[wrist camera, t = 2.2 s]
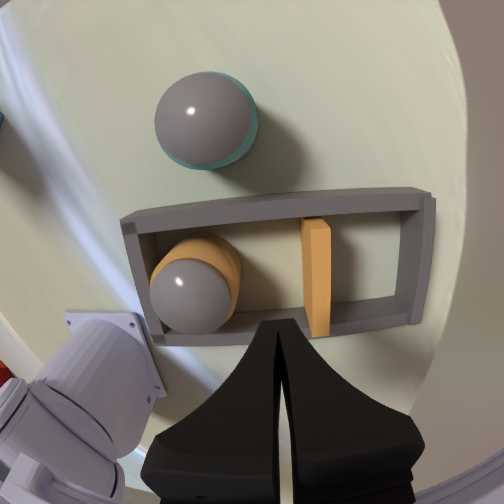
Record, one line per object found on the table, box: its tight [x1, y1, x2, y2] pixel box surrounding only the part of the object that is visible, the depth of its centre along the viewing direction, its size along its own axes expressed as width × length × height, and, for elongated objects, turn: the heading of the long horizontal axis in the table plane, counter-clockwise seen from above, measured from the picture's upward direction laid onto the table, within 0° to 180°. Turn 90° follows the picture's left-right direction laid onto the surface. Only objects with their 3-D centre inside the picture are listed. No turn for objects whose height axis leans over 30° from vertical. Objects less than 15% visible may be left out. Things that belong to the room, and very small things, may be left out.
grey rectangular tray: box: [120, 187, 436, 346], centre depth 17 cm, size 9×18×3 cm, turn 96°
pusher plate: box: [300, 216, 331, 338], centre depth 16 cm, size 6×1×4 cm, turn 6°
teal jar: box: [155, 72, 258, 170], centre depth 13 cm, size 5×5×4 cm
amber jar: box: [150, 233, 242, 335], centre depth 17 cm, size 5×5×4 cm
